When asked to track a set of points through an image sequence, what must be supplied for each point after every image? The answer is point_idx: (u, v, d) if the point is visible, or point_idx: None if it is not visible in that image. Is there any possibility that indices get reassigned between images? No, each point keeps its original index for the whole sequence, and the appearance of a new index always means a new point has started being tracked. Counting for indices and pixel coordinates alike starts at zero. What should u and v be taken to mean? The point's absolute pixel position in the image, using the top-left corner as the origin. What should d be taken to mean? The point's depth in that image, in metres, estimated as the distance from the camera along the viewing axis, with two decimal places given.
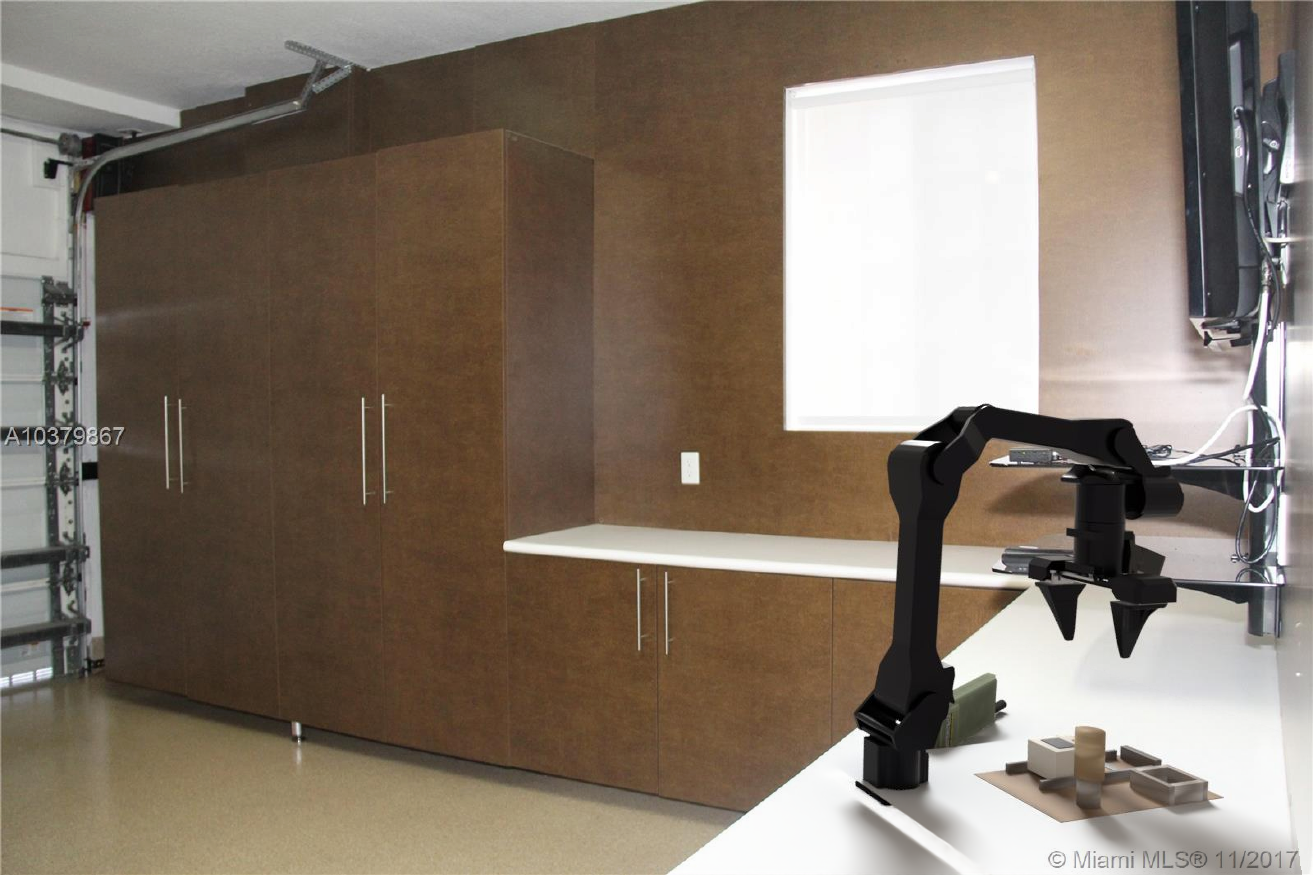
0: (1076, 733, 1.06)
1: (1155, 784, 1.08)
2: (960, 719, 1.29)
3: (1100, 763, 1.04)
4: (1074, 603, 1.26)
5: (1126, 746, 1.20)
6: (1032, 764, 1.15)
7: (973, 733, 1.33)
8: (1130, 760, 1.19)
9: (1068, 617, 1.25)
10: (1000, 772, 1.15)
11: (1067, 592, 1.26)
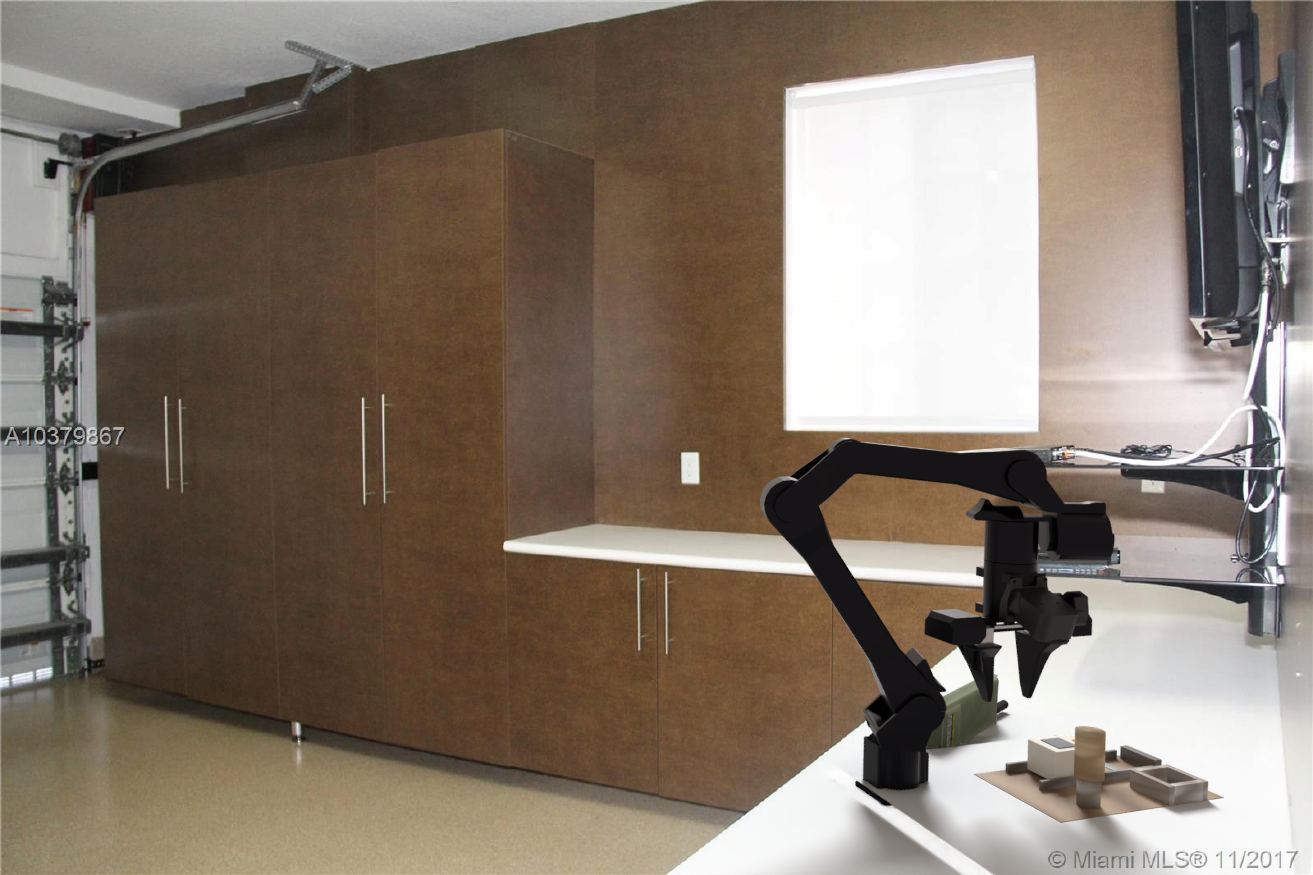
0: (1076, 733, 1.06)
1: (1155, 784, 1.08)
2: (961, 720, 1.29)
3: (1100, 763, 1.04)
4: (1035, 658, 1.11)
5: (1126, 746, 1.20)
6: (1032, 764, 1.15)
7: (974, 733, 1.33)
8: (1130, 760, 1.19)
9: (1026, 671, 1.12)
10: (1000, 772, 1.15)
11: (1030, 644, 1.12)
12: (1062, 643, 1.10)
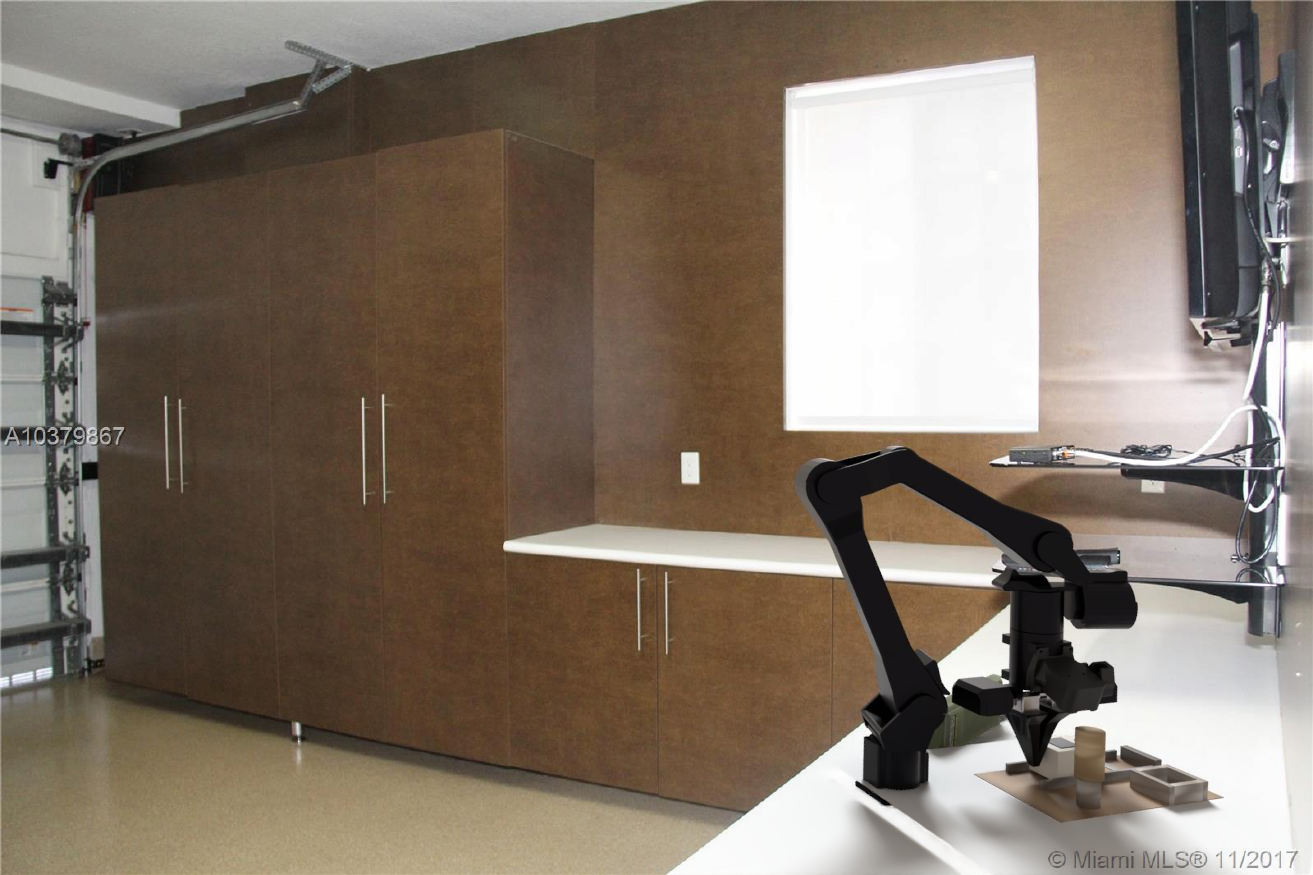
0: (1076, 733, 1.06)
1: (1155, 784, 1.08)
2: (964, 721, 1.29)
3: (1100, 763, 1.04)
4: (1042, 727, 1.12)
5: (1126, 746, 1.20)
6: None
7: (978, 734, 1.32)
8: (1130, 760, 1.19)
9: None
10: (1000, 772, 1.15)
11: None
12: (1070, 712, 1.11)
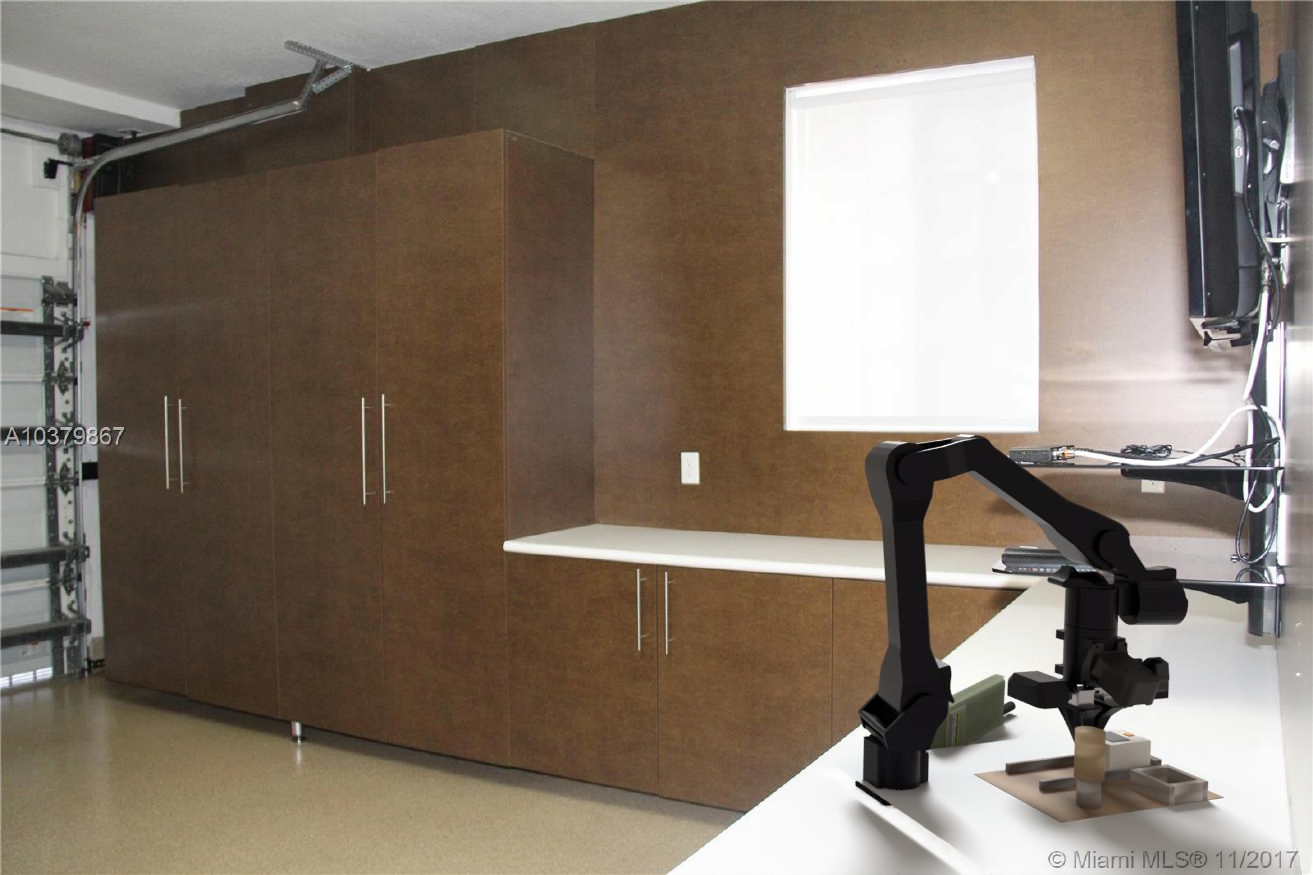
0: (1076, 733, 1.06)
1: (1155, 784, 1.08)
2: (967, 720, 1.28)
3: (1100, 763, 1.04)
4: (1095, 721, 1.14)
5: None
6: None
7: (980, 735, 1.32)
8: None
9: None
10: (1000, 772, 1.15)
11: None
12: (1122, 707, 1.13)
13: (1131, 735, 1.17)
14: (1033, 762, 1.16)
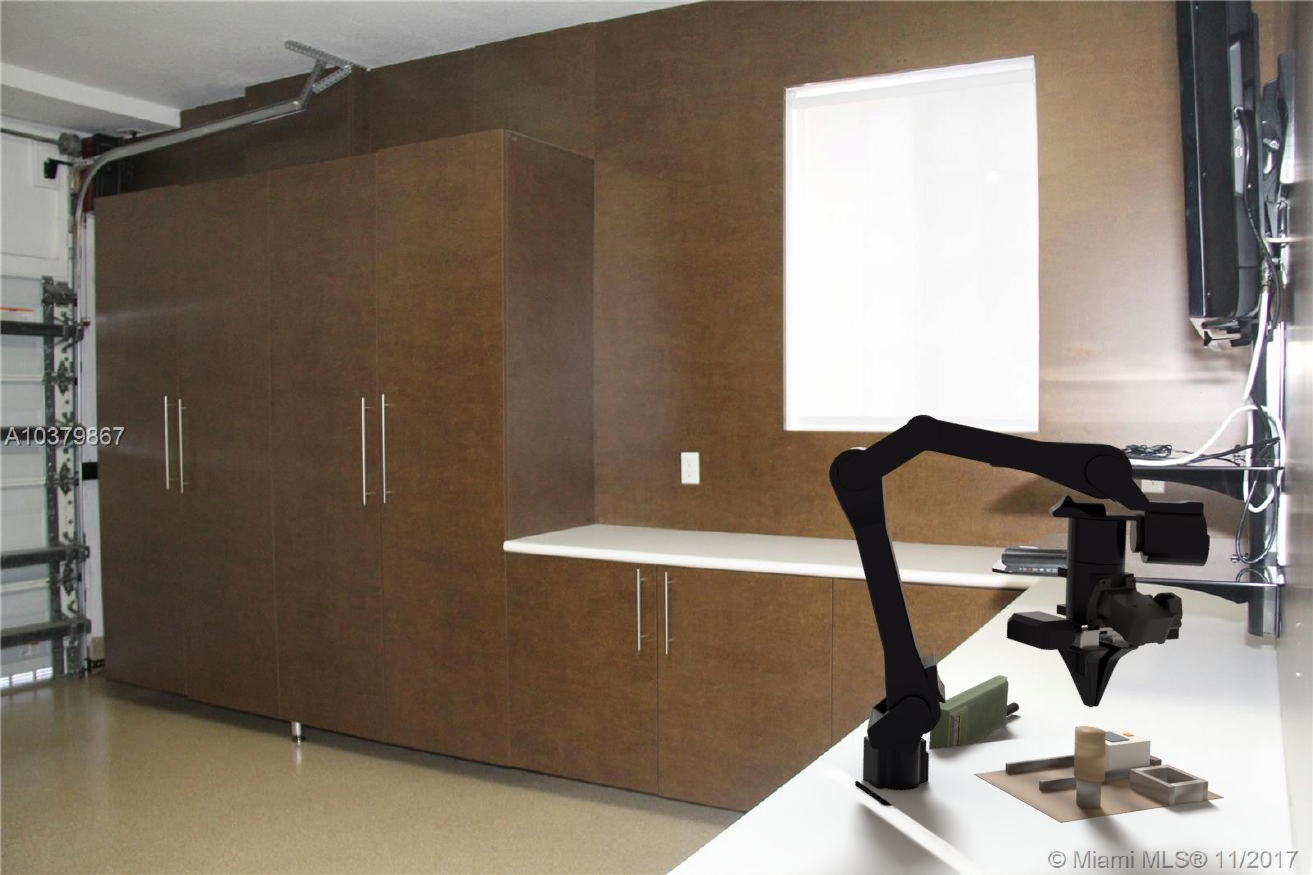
0: (1076, 733, 1.06)
1: (1155, 784, 1.08)
2: (969, 722, 1.28)
3: (1100, 763, 1.04)
4: (1102, 665, 1.06)
5: None
6: None
7: (983, 736, 1.32)
8: None
9: None
10: (1000, 772, 1.15)
11: None
12: (1132, 648, 1.04)
13: (1131, 735, 1.17)
14: (1033, 762, 1.16)
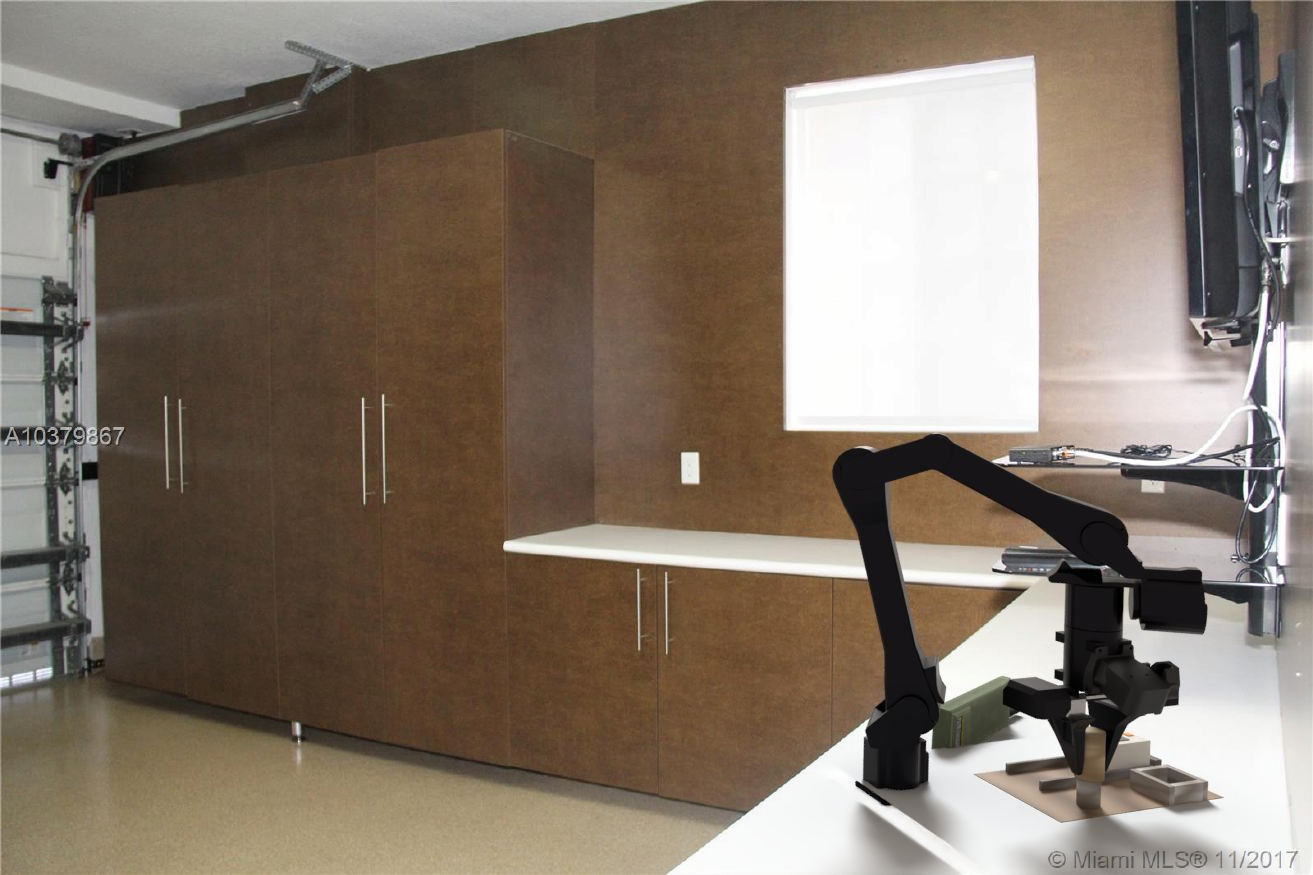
0: None
1: (1155, 784, 1.08)
2: (971, 722, 1.28)
3: (1100, 763, 1.04)
4: (1110, 730, 1.05)
5: None
6: None
7: (986, 736, 1.32)
8: None
9: None
10: (1000, 772, 1.15)
11: (1105, 714, 1.06)
12: (1140, 715, 1.04)
13: (1131, 735, 1.17)
14: (1033, 762, 1.16)
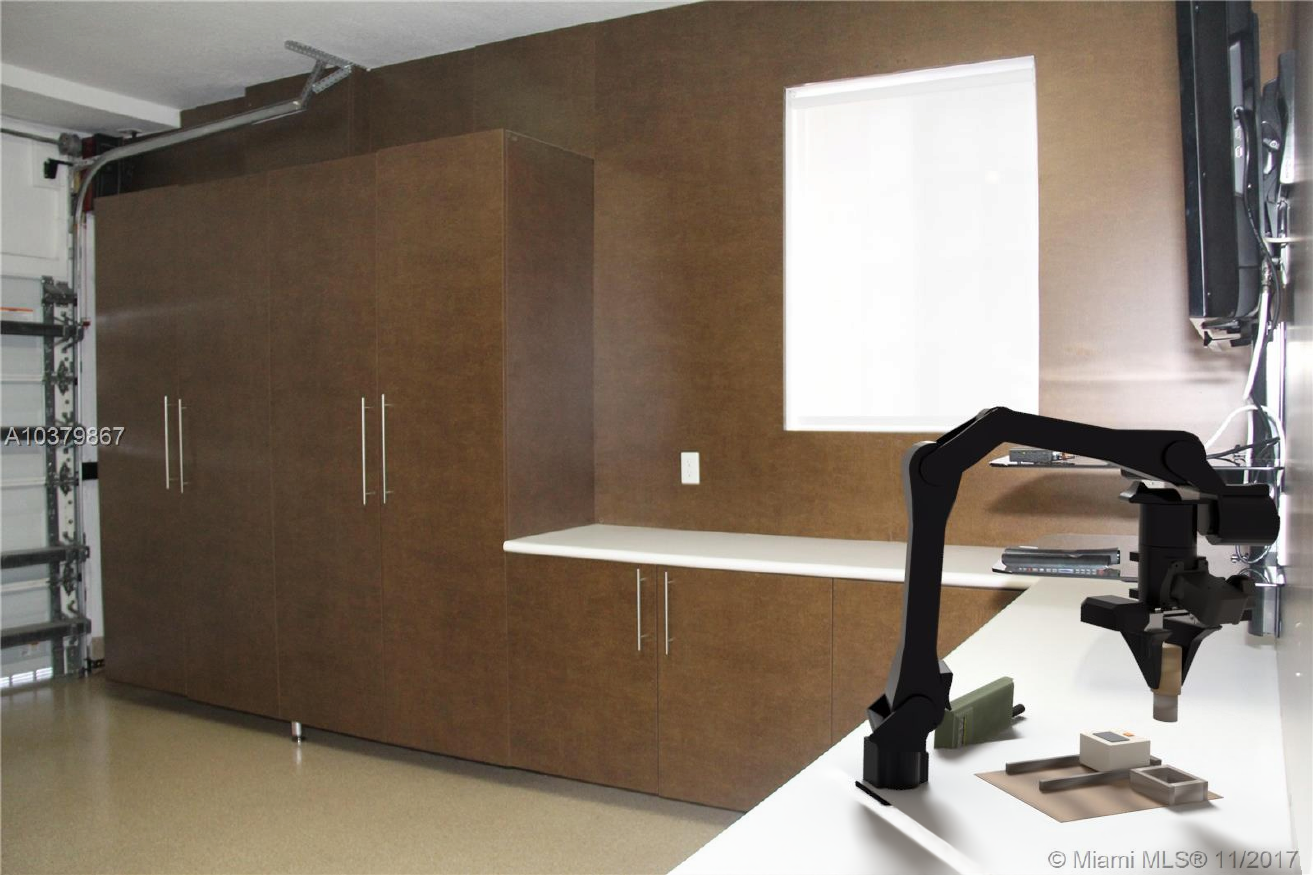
0: None
1: (1155, 784, 1.08)
2: (974, 723, 1.28)
3: (1177, 677, 1.07)
4: (1186, 645, 1.08)
5: None
6: (1084, 757, 1.17)
7: (988, 737, 1.31)
8: None
9: None
10: (1000, 772, 1.15)
11: (1180, 631, 1.09)
12: (1215, 629, 1.07)
13: (1131, 735, 1.17)
14: (1033, 762, 1.16)
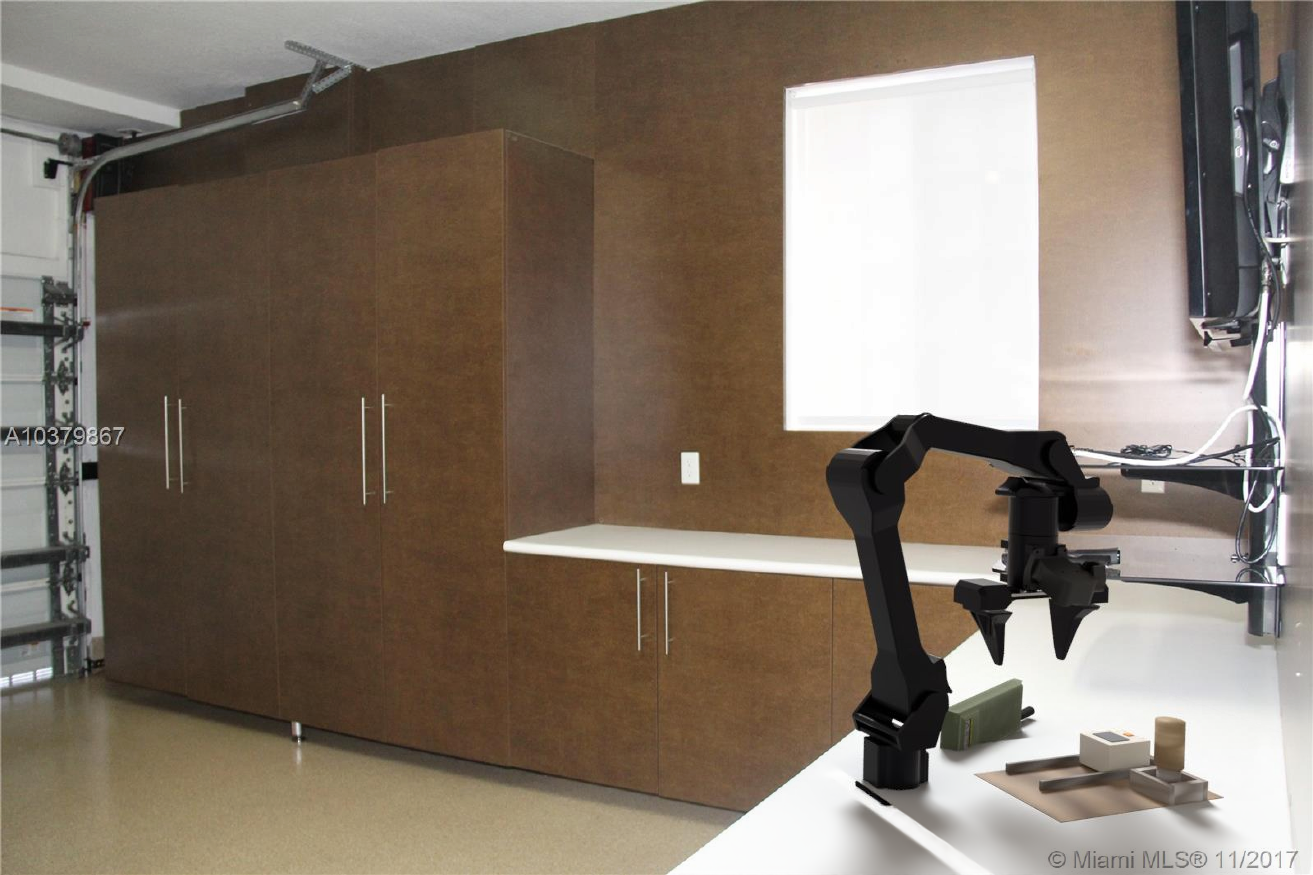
0: (1156, 723, 1.09)
1: (1155, 784, 1.08)
2: (981, 725, 1.27)
3: (1181, 752, 1.08)
4: (1068, 623, 1.21)
5: None
6: (1084, 757, 1.17)
7: (996, 740, 1.31)
8: None
9: (1060, 635, 1.22)
10: (1000, 772, 1.15)
11: (1064, 610, 1.22)
12: (1093, 609, 1.20)
13: (1131, 735, 1.17)
14: (1033, 762, 1.16)
